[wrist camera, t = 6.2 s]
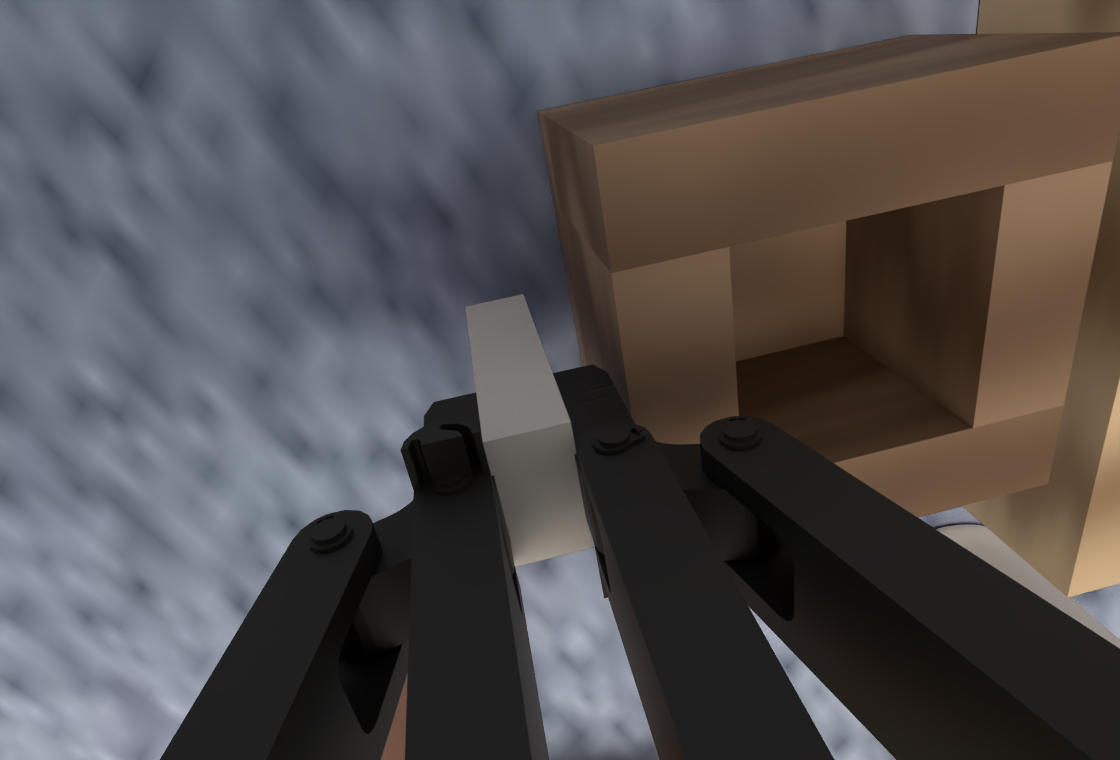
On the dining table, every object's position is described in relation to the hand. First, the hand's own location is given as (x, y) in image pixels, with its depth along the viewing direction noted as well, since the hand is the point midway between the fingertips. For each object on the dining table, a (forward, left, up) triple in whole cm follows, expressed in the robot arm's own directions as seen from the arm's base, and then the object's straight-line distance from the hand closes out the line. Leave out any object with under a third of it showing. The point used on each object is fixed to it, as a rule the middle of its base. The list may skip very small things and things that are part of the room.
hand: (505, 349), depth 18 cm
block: (0, +7, -2) cm, 7 cm away
